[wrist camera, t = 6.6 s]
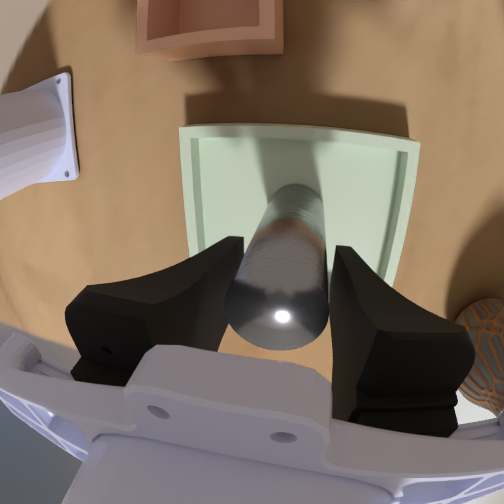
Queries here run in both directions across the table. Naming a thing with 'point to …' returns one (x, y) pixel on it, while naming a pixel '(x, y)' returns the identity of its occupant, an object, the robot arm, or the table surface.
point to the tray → (300, 172)
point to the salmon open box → (208, 28)
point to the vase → (485, 354)
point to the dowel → (283, 274)
